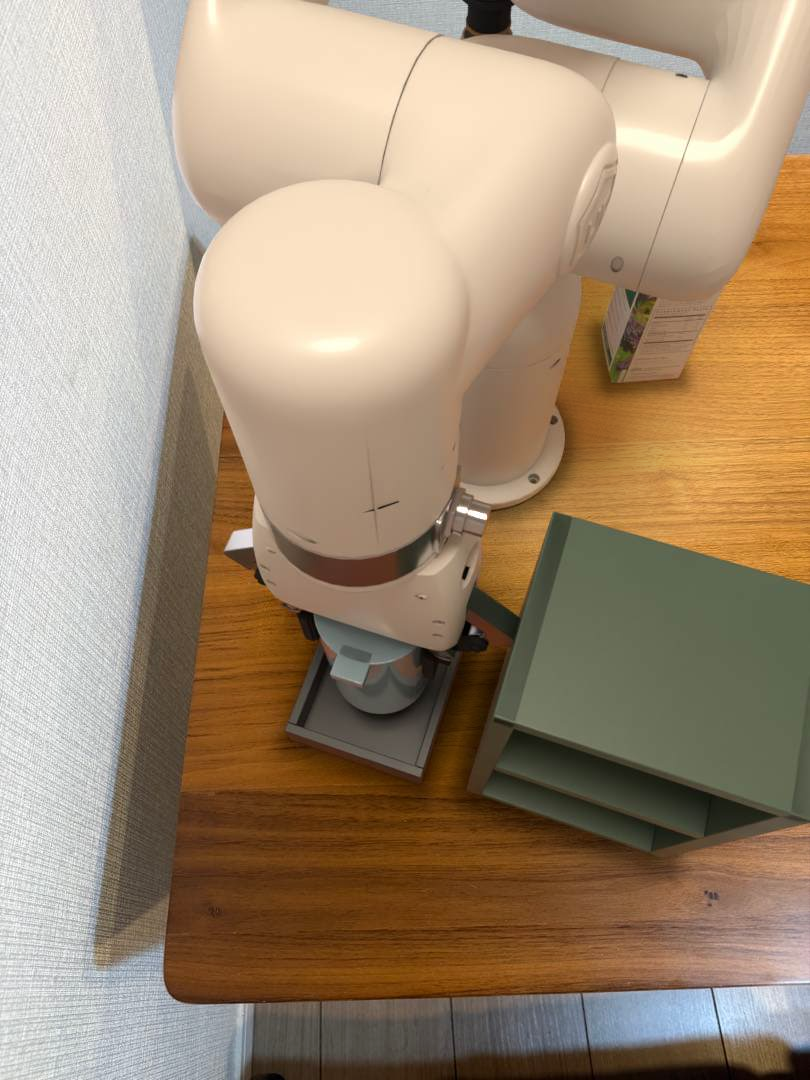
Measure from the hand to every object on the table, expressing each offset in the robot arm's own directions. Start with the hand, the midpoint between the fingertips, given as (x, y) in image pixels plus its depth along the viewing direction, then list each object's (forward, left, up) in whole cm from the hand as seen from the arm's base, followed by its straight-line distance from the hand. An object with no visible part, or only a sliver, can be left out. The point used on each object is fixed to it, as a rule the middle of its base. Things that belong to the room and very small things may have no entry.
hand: (377, 635), depth 48 cm
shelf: (0, +14, -10) cm, 17 cm away
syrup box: (-33, +11, -10) cm, 36 cm away
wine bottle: (-33, -4, -10) cm, 34 cm away
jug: (0, 0, -6) cm, 6 cm away
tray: (-1, 0, -10) cm, 10 cm away
